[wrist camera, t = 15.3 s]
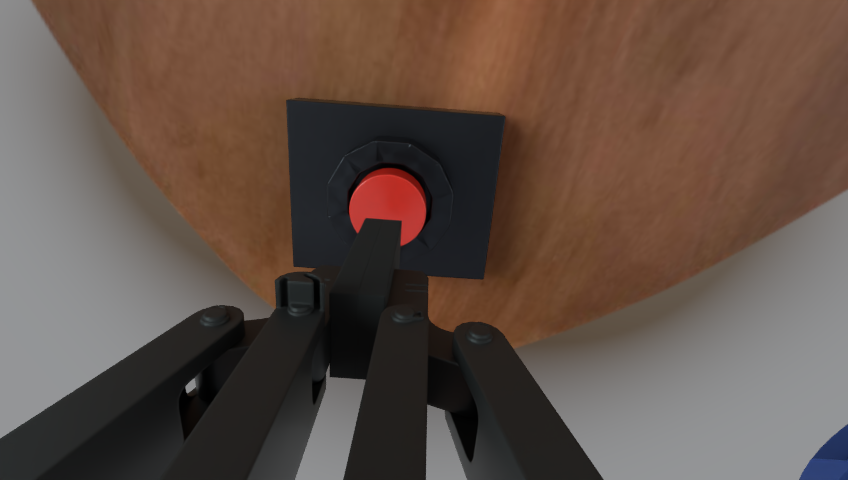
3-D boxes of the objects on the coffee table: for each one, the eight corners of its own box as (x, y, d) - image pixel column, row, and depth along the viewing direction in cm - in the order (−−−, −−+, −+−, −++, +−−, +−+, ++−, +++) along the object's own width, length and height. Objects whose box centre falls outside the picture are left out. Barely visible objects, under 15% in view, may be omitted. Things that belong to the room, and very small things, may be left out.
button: (428, 170, 23) (428, 177, 21) (423, 239, 24) (423, 250, 23) (354, 164, 23) (349, 171, 21) (353, 234, 24) (348, 245, 23)
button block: (499, 113, 25) (512, 119, 21) (479, 265, 29) (487, 293, 25) (297, 97, 25) (274, 101, 21) (303, 253, 29) (284, 279, 25)
